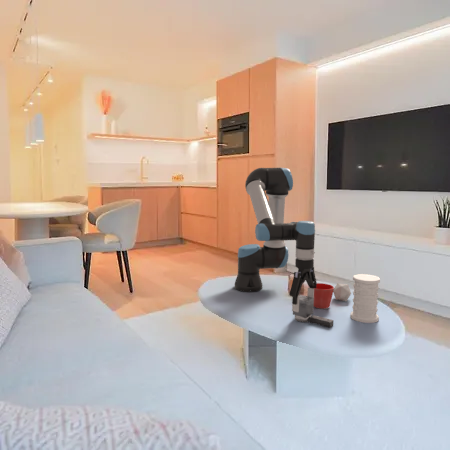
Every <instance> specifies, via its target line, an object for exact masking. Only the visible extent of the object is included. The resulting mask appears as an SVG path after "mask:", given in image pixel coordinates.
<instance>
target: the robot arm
mask: <svg viewBox="0 0 450 450" xmlns="http://www.w3.org/2000/svg"><path fill="white" fill-rule="evenodd" d="M244 187H245V191H246V193H247V195H249V197H250V201H251V204H252V208H253V211H254V214H255V218H256V221H257V224H256V225H255V230H254V233H255V234H254V235H255V239H256V240H257V241H259V242H263V244H262V245H263V246H260V244H257V243H249V244H245V245H241V246H240V247H239V248H238V250H237V276H236V278H235V281H234V289H235V290H236V291H239V292H247V293H254V292H255V293H256V292H259V291H261V290H263V286H264V285H263V282H262V279H261V275H260V270H261V269H262V270H263V269H264V270H265V269H281V268H285V267H286V265H287V264H288V261H289V256H290V255H289V248H288V247H287V246H286V243H285V242H284V241H295V265H294V266H295V267H296V268H297V271H294V272H293V278H292V282H291V286H290V291H289V296H290V297H291V299H292V300H291V301H292V304H291V305H292V307H291V312H293V311H295V312H299V295H300V291H301V289H302V286H303V285H304V284H305V282H306V284H307V285H308V287H307V294H306V295H307V296H308V297H313V298H314V288H317V286H316V285H317V283H318V282H317V278H316V274H315V266H314V265H315V264H314V263H315V260H314V257H315V253H316V252H315V240H316V239H315V238H316V237H315V234H316V228H315V227H316V224H315V222H313V221H311V220H298V221H291V222H287V223H285V222H284V221H285V204H286V197H288V196H289V192H290V191H292V190H293V187H294V178H293V174H292V172H291V170H290V169H289V168H286V167H258V168H256V169H253V170H252V171H250V173H249V174H248V176H247V177H246V180H245V185H244Z"/></svg>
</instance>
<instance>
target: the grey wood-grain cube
mask: <svg viewBox="0 0 450 450" xmlns="http://www.w3.org/2000/svg"><path fill="white" fill-rule="evenodd" d="M298 296H299V312H295V311H292V315H294V316H295V315H297V316H301V317H305V318H307V317H309V316H310V315H311V316H313V315H314V308H315V307H314V298H313V297H308V296H306V295H304V294H299V295H298Z"/></svg>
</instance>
